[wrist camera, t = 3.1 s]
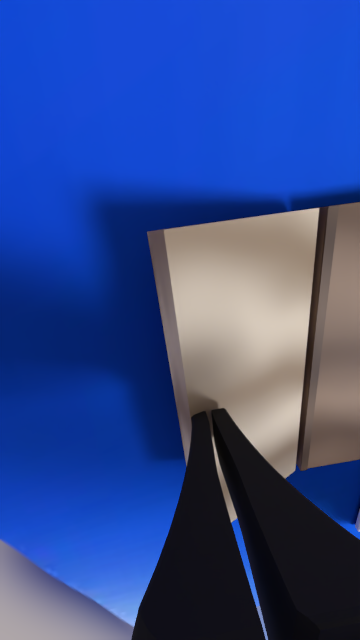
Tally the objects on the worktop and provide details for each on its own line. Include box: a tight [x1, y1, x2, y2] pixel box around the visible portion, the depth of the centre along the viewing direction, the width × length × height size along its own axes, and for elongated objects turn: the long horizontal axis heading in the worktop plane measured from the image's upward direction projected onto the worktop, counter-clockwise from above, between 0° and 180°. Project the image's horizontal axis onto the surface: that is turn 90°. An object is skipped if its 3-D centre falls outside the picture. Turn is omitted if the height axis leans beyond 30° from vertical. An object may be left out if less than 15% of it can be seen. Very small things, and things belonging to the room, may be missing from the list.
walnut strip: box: [296, 202, 360, 471], centre depth 15 cm, size 18×6×2 cm, turn 7°
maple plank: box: [147, 208, 319, 522], centre depth 13 cm, size 18×8×2 cm, turn 7°
